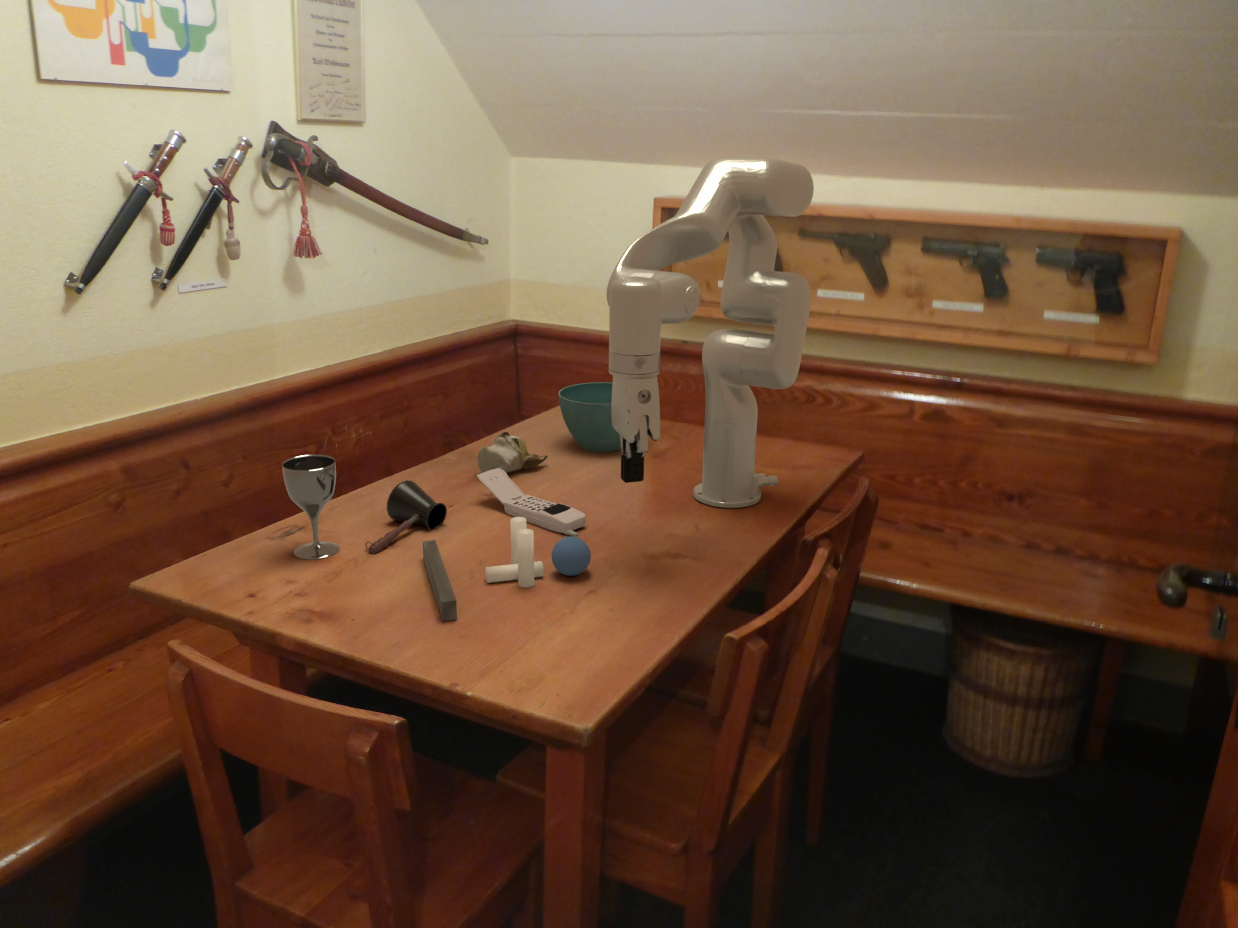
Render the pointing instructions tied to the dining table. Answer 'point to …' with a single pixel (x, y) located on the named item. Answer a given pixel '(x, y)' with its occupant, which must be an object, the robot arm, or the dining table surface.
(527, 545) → the pin
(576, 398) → the teal bowl
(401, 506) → the coffee pot
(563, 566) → the ball
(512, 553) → the pin
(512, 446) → the ceramic sculpture
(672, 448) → the dining table surface
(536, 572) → the front pin
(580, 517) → the mobile phone
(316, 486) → the silver goblet
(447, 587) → the back wall
